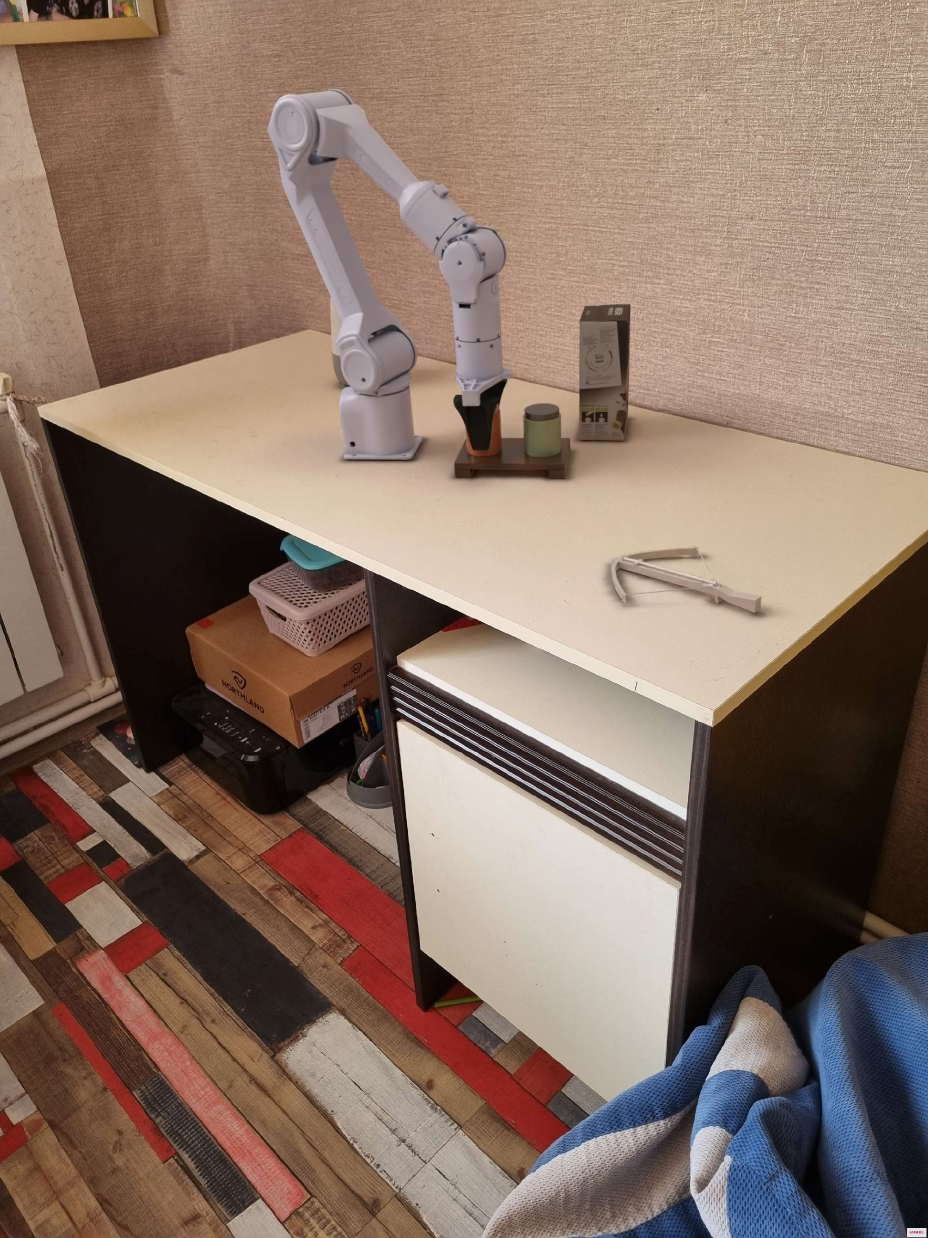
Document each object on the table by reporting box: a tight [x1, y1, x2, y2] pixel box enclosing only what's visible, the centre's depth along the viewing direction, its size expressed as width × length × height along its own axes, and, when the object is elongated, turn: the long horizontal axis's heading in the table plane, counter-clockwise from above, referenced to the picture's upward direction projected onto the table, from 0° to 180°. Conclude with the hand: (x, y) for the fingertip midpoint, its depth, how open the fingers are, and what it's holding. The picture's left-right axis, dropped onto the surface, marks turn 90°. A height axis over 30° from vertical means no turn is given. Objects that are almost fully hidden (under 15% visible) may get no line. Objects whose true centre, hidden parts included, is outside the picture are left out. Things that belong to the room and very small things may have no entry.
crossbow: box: [610, 545, 762, 614], centre depth 93 cm, size 16×13×2 cm
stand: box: [453, 437, 572, 480], centre depth 123 cm, size 14×9×2 cm, turn 80°
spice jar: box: [464, 404, 503, 456], centre depth 121 cm, size 5×5×6 cm
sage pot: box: [522, 402, 562, 457], centre depth 120 cm, size 5×5×6 cm
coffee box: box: [578, 303, 632, 442], centre depth 128 cm, size 9×6×16 cm
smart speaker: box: [329, 297, 373, 387], centre depth 154 cm, size 10×9×14 cm
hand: (483, 441), depth 122 cm, fingers closed on spice jar, 4 cm apart
